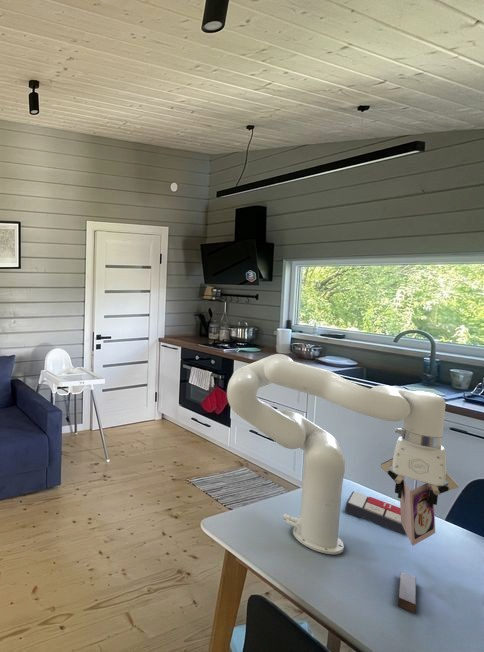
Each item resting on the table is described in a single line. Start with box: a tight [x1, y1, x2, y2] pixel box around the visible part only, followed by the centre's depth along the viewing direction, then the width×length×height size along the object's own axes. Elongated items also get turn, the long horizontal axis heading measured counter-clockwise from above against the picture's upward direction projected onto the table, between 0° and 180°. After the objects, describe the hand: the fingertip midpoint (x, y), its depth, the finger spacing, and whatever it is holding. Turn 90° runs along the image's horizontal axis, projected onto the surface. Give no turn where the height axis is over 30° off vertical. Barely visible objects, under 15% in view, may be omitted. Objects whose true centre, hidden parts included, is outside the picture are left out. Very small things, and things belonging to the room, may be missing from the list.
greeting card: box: [399, 479, 436, 547], centre depth 110 cm, size 11×7×15 cm, turn 112°
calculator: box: [344, 491, 406, 535], centre depth 134 cm, size 11×4×15 cm
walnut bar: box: [397, 571, 417, 614], centre depth 102 cm, size 3×12×2 cm, turn 135°
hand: (414, 500), depth 110 cm, fingers closed on greeting card, 5 cm apart
